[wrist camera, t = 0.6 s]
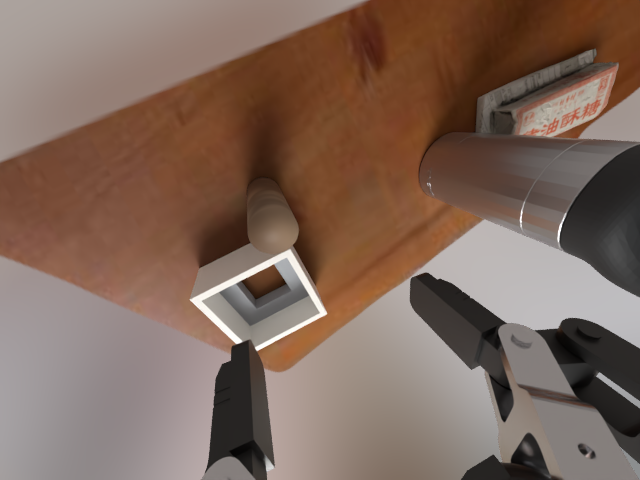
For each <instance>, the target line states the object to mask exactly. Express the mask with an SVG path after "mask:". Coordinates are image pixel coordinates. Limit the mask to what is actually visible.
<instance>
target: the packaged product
mask: <svg viewBox="0 0 640 480" xmlns="http://www.w3.org/2000/svg"><path fill="white" fill-rule="evenodd" d="M596 55H597V53H596V49H593V50H589V51H586V52H584V53H581V54H579V55H577V56H575V57H572V58H570V59H568V60H565V61H562V62H560V63H557V64H554V65H551V66H549V67H547V68H544V69H542V70H539V71H537V72H534V73H532V74H529V75H527V76H524V77H522V78H520V79H518V80H515V81H513V82H510V83H508V84H506V85H504V86H502V87H500V88H497V89H495V90H493V91H491V92H489V93H487V94H485V95H483V96H481V97H479V98H478V101H477V116H476V132H477V133H495V134H514V135H532V136H547V137H554V136H556V135H558V134H560V133H563V132H565V131H567V130H569V129H571V128H574V127H576V126H578V125H580V124H583V123H585V122H587V121H589V120H591V119H593V118H595V117H596V116H598V115H599V114H600V112H601V111H602V110H603V108H604V107H606V105H607V103H608V98H609V96H610V91H611V89H612V86H613V84H614V81H615V76H616V72H617V70H618V63H612V62H609V63H595V64H594V63H593V60H594V58H595V56H596Z"/></svg>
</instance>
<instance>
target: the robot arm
mask: <svg viewBox="0 0 640 480" xmlns="http://www.w3.org/2000/svg"><path fill="white" fill-rule="evenodd" d="M419 181H420V185H421V188H422V190H423V191H424V192H425V193H426V194H427V195H429V196H430V197H433V198H435V199H438V200H440V201H442V202H445V203H447V204H449V205H452V206H454V207H457V208H459V209H461V210H464V211H466V212H469V213H471V214H474V215H476V216H478V217H481V218H483V219H486V220H488V221H491V222H493V223H495V224H498V225H500V226H503V227H505V228H508V229H510V230H512V231H515V232H517V233H520V234H522V235H524V236H527V237H530V238H532V239H535V240H537V241H539V242H542V243H544V244H547V245H549V246H552V247H554V248H556V249H559V250H561V251H564V252H566V253H568V254H571V255H573V256H575V257H578V258H580V259H582V260H584V261H585V262H587V263H588V264H590V265H591V266H592V267H593V268H594V269H595V270H597V271H598V272H599V273H600V274H601V275H602V276H604V277H605V278H606V279H607V280H609V281H611V282H612V283H614V284H615V285H617V286H619V287H621V288H622V289H624V290H626V291H628V292H630V293H632V294H634V295H636V296H638V297H640V142H630V141H614V140H596V139H593V140H591V139H574V138H557V137H547V136H532V135H514V134H495V133H477V132H472V133H468V132H451V133H448V134H446V135H443V136H442V137H440V138H439V139H438V140H436V141H435V142H434V143H433V144H432V145H431V147H430V148H429V149H428V151H427V152H426V154H425V156H424V158H423V160H422V163H421V166H420V172H419ZM410 303H411V305H412V308H413V309H414V311H415V312H416V313H417V314H418V315H419V316H420V317H421V318H422V319H423V320H424V321H425V322H426V323H427V324H428V325H429V326H430V327H431V328H432V330H433V331H434V332H435V333H436V334H437V335H438V336H439V337H440V338H441V339H442V340H443V341H444V342H445V343H446V344H447V345H448V346H449V347H450V348H451V349H452V350H453V351H454V352H455V353H456V354H457V355H458V357H459V358H460V359H461V360H462V361H463V362H464V363H465V364H466V365H467V366H468V367H469V368H470V369H471V370H472V369H474V368H476V367H478V366H481V367H483V368H484V369H485V378H486V382H487V385H488V389H489V393H490V396H491V400H492V404H493V408H494V412H495V416H496V419H497V423H498V443H499V450H500V455H501V459H502V462H501V463H500V462H499V461H498V459H497V458H496V457H495V456H494V455H492V456H490V457H489V458H487V459H485V460H484V461H482V462H481V463H479V464H477V465H476V466H474V467H472V468H471V469H469V470H467V472H466V473H465V475H464V476H463V478H462V479H461V480H639V478H638V477H637V475H636V473H635V472H634V470H633V468H632V467H631V465H630V463H629V462H628V460H627V459H626V457H625V455H624V453H623V452H622V450H621V448H622V449H623V450H625V451H626V452H627V453H628V454H629V455H630V456H631V457H632V458H634V459H635V460H636V461H637V462H638V463H639V464H640V409H639V408H638V407H637V406H635V405H634V404H633V403H631V402H630V401H629V400H627V399H626V398H625V397H623V396H622V395H621V394H619V393H618V392H616V391H615V390H614V389H612V388H611V387H610V386H608V385H607V384H606V383H604V382H603V381H602V380H600V379H599V378H597V377H596V376H597V374H598V373H599V372H600V373H602V374H603V375H604V376H606V377H607V378H608V379H610V380H611V381H613V382H614V383H615V384H617V385H619V386H620V387H621V388H622V389H624V390H625V391H627V392H628V393H629V394H631V395H632V396H634V397H635V398H636V399H638V400H639V401H640V349H639V348H638V347H636V346H634V345H633V344H631V343H629V342H627V341H626V340H624V339H622V338H621V337H619V336H617V335H615V334H614V333H612V332H610V331H609V330H607V329H605V328H603V327H602V326H600V325H598V324H595V323H593V322H590V321H587V320H583V319H578V318H568V319H565V320H563V321H562V322H561V324H560V326H559V328H558V329H549V330H548V329H547V330H535V331H534V330H532V329H530V328H528V327H526V326H523V325H520V324H514V323H508V324H507V323H505V322H504V321H503V320H501V319H500V318H498V317H497V316H496V315H494V314H493V313H492V312H490V311H489V310H488V309H486V308H485V307H483V306H482V305H481V304H479V303H478V302H476V301H475V300H474V299H472V298H470V296H468V295H467V294H466V293H464V292H462V291H461V290H460V289H459V288H457V287H456V286H455V285H453V284H452V283H449V282H447V281H444V280H442V279H438V280H437V279H436V278H434V277H433V276H432V275H430V274H429V273H423V274H420V275H418V276H415V277H412V278H411V282H410ZM620 447H621V448H620ZM274 468H275V464H274V454H273V445H272V436H271V427H270V418H269V409H268V400H267V391H266V382H265V373H264V368H263V364H262V361H261V359H260V357H259V355H258V353H257V351H256V349H255V347H254V345H253V343H252V341H251V340H250V339H249V340H246V341H244V342H241V343H238V344H236V345H233V346H232V349H231V361H229V362H226V363H224V364H222V366H221V368H220V370H219V372H218V375H217V377H216V383H215V396H214V408H213V416H212V428H211V440H210V452H209V460H208V465H207V469H206V471H205V474H204V476H203V477H202V479H201V480H267V473H266V472H268V471H270V470H272V469H274Z"/></svg>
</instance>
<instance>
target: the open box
mask: <svg viewBox="0 0 640 480" xmlns="http://www.w3.org/2000/svg"><path fill="white" fill-rule="evenodd" d="M273 264H274V265H275V266H276V268H277V269H278V271H279V272H280V274H281V275H282V277H283V278H284V280H285V281H286V283H287V284H285V285H284V286H282V287H280V288H278V289H276V290H274V291H272V292H270V293H268V294H266V295H264V296H262V297H260V298H258V299H255V298H254V296H253V295H252V294H251V293H250V291H249V290H248V289H247V288H246V286H245V285H244V284H243V283H242V281H241V280H243V279H245V278H247V277H249V276H251V275H253V274H255V273H257V272H259V271H261V270H263V269H265V268H267V267H269V266H271V265H273ZM190 300H191V301H192V302H193V303H194V304H195V305H196V306H197V307H198V308H199V309H200V310H201V311H202V312H203V313H204V314H205V315H206V316H207V317H208V318H210V319H211V320H212V321H213V322H214V323H215V324H216V325H217V326H218V327H219V328H220V329H221V330H222V331H223V332H224V333H225V334H226V335H227V336H229V337H230V338H231V339H232V340H233V341H234V342H235V343H236V344H238V343H241V342H244V341H246V340H249V339H250V340H251V341H252V343H253V345H254V347H255V349H256V351H258V350H260V349H262V348H264V347H265V346H267V345H269V344H271V343H273V342H275V341H277V340H279V339H281V338H282V337H284V336H286V335H288V334H290V333H292V332H294V331H296V330H298V329H299V328H301V327H303V326H305V325H307V324H309V323H311V322H313V321H315V320H316V319H318V318H320V317H322V316H324V315H326V314H327V312H326V310H325V307H324V305H323V303H322V300H321V298H320V295H319V293H318V291H317V288H316V286H315V284H314V283H313V281H312V279H311V277H310V275H309V274H308V272H307V270H306V268H305V266H304V265H303V263H302V261H301V259H300V257H299V256H298V254H297V252H296V250H295V248H294V247H293V245H292V246H291V247H290V248H289V249H288V250H286V251H284V252H281V253H277V254H267V253H263V252H261V251H259V250H257V249H256V248H255V247H254V246H253V245H252V244H251V243H249V244H247V245H245V246H243V247H241V248H239V249H237V250H235V251H233V252H231V253H229V254H227V255H225V256H223V257H221V258H219V259H217V260H215V261H213V262H211V263H209V264H207V265H205V266H203V267H201V268H199V271H198V274H197V278H196V281H195V284H194V287H193V291H192V294H191V297H190Z"/></svg>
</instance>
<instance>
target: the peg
mask: <svg viewBox="0 0 640 480" xmlns="http://www.w3.org/2000/svg"><path fill="white" fill-rule="evenodd" d="M247 226H248V238H249V240H250V242H251V244H252V245H253V246H254V247H255V248H256V249H257V250H259V251H261V252H263V253H267V254H277V253H281V252H284V251H286V250H288V249H289V248H290V247H291V246H292V245H293V244H294V243H295V241H296V240H297V237H298V233H299V227H298V223H297V221H296V219H295V217H294V215H293V213H292V211H291V209H290V207H289V205H288V203H287V201H286V199H285V197H284V195H283V193H282V192H281V190H280V188H279V186H278V184H277V183H276V182H275V181H274V180H272V179H270V178H267V177H259V178H256V179H254V180H253V181H252V182H251V183H250V184H249V186H248V188H247Z"/></svg>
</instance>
